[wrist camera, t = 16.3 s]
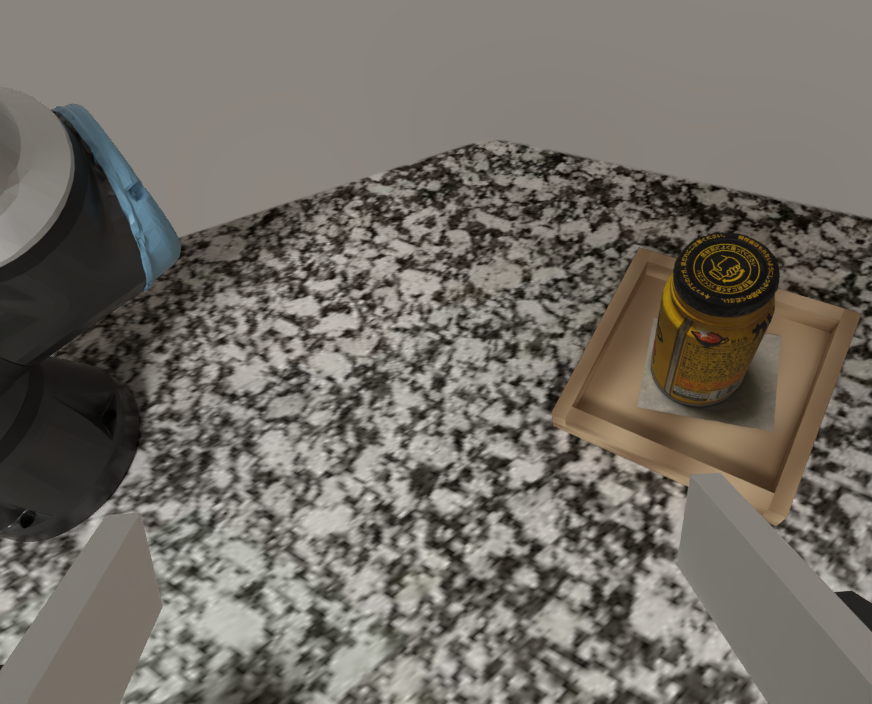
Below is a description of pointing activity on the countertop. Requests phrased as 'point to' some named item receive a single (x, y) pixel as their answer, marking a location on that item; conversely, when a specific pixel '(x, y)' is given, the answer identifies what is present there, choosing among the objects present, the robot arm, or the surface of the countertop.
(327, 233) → the countertop surface
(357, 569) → the countertop surface
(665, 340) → the condiment
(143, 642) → the robot arm
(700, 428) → the tray
